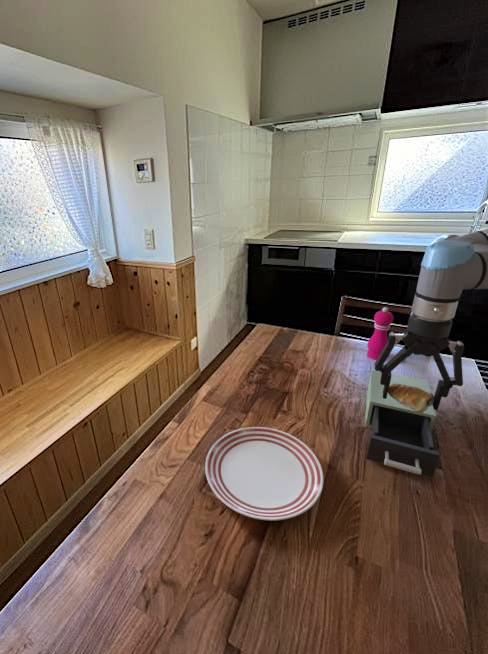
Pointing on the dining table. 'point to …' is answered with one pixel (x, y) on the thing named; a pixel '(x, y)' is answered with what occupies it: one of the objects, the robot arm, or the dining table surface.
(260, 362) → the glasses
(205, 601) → the dining table surface
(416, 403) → the pastry
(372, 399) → the mint green cabinet
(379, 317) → the pepper mill
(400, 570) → the dining table surface
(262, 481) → the dinner plate
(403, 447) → the drawer
